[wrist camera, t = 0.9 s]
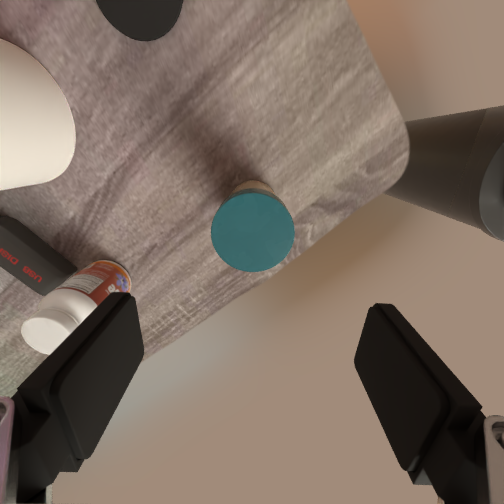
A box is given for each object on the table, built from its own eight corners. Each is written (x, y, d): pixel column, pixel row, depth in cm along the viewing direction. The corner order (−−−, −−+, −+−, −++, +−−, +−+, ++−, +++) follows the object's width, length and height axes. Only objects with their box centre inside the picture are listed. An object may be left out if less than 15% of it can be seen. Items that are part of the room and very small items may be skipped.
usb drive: (56, 289, 34) (40, 301, 31) (-29, 226, 30) (-55, 233, 28) (78, 268, 32) (63, 279, 30) (-9, 199, 29) (-34, 204, 26)
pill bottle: (130, 302, 35) (79, 367, 24) (85, 291, 34) (13, 353, 24) (135, 265, 32) (81, 321, 22) (88, 252, 31) (9, 303, 21)
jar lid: (295, 190, 20) (300, 195, 18) (287, 262, 23) (290, 273, 21) (214, 186, 20) (209, 190, 18) (215, 258, 23) (211, 270, 21)
